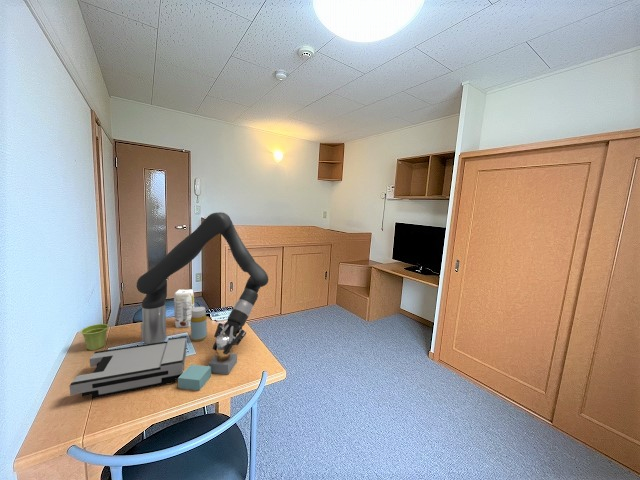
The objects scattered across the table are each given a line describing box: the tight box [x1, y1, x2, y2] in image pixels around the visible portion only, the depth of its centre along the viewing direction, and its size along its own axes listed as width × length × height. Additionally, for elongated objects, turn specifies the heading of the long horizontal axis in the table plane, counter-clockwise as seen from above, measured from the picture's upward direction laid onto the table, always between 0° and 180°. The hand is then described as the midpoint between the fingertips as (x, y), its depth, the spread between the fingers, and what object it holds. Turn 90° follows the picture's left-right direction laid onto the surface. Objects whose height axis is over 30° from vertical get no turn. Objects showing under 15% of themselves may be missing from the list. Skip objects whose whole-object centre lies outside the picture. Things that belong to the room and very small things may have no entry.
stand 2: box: [208, 352, 238, 375], centre depth 107 cm, size 8×8×4 cm
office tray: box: [69, 335, 188, 400], centre depth 100 cm, size 21×32×8 cm, turn 113°
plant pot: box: [80, 323, 109, 351], centre depth 118 cm, size 9×9×9 cm
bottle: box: [190, 306, 208, 342], centre depth 128 cm, size 7×7×15 cm
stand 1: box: [177, 364, 212, 392], centre depth 98 cm, size 8×8×4 cm
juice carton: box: [173, 288, 195, 328], centre depth 141 cm, size 8×9×19 cm
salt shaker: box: [215, 333, 231, 362], centre depth 106 cm, size 5×5×9 cm
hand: (219, 351), depth 105 cm, fingers closed on salt shaker, 5 cm apart
